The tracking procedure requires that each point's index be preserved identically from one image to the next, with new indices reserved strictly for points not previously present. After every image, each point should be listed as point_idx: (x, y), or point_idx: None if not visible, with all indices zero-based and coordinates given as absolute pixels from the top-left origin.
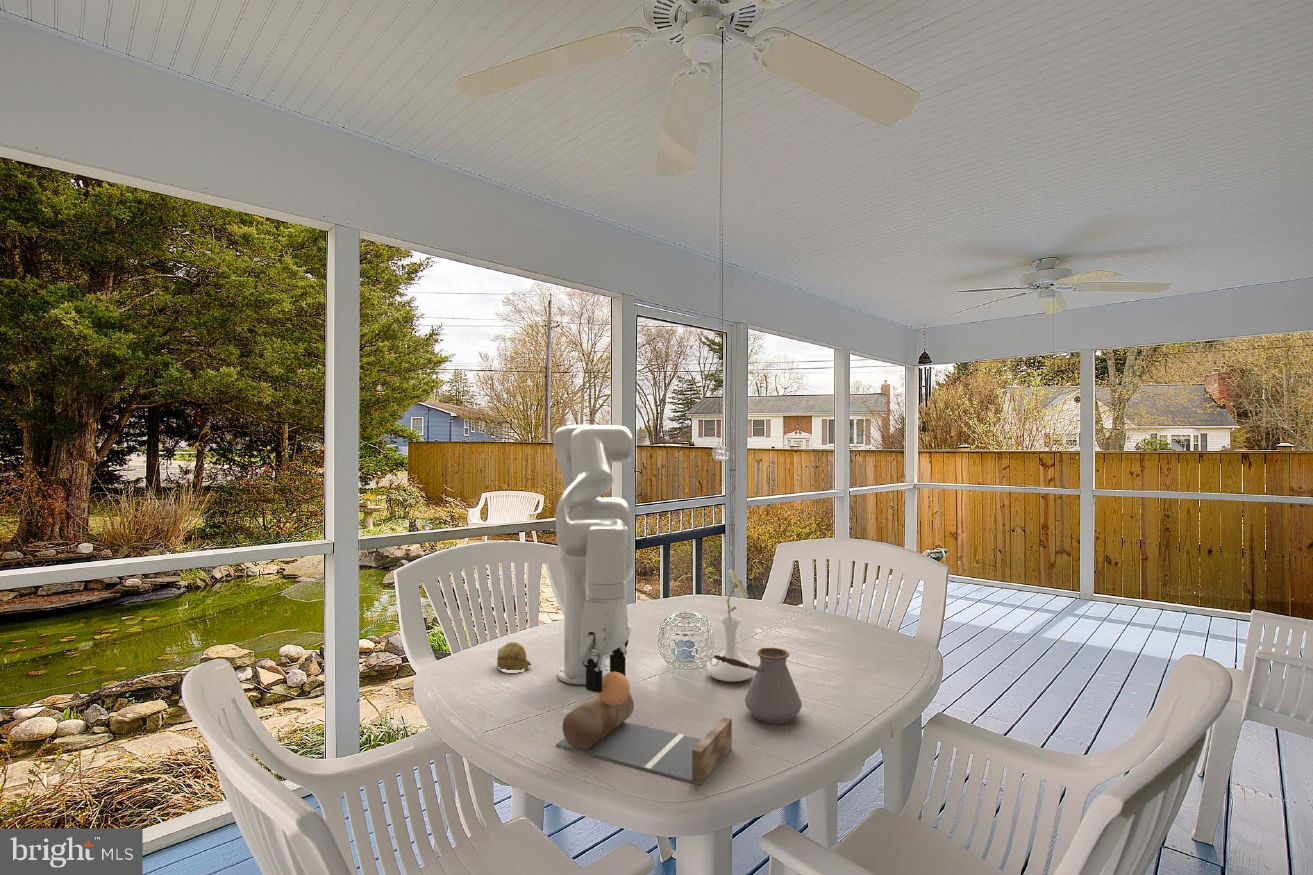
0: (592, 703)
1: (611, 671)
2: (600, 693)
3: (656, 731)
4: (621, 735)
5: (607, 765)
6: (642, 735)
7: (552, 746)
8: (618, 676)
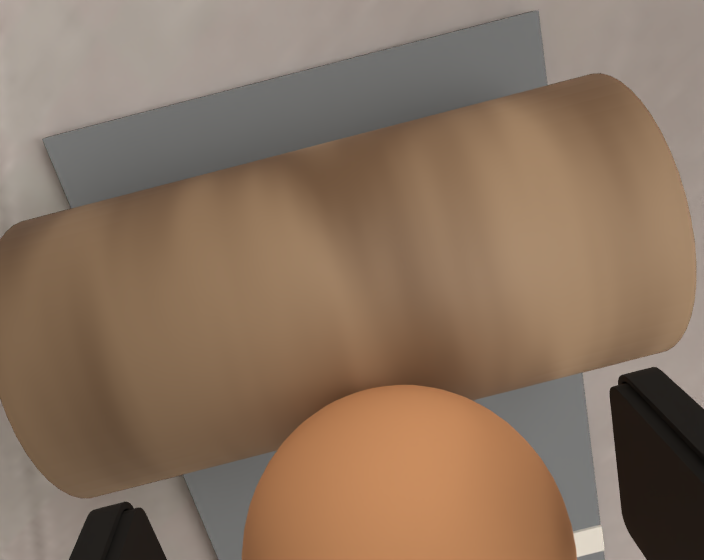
0: (216, 401)
1: (633, 425)
2: (244, 531)
3: (562, 438)
4: None
5: (145, 487)
6: None
7: (29, 121)
8: None
